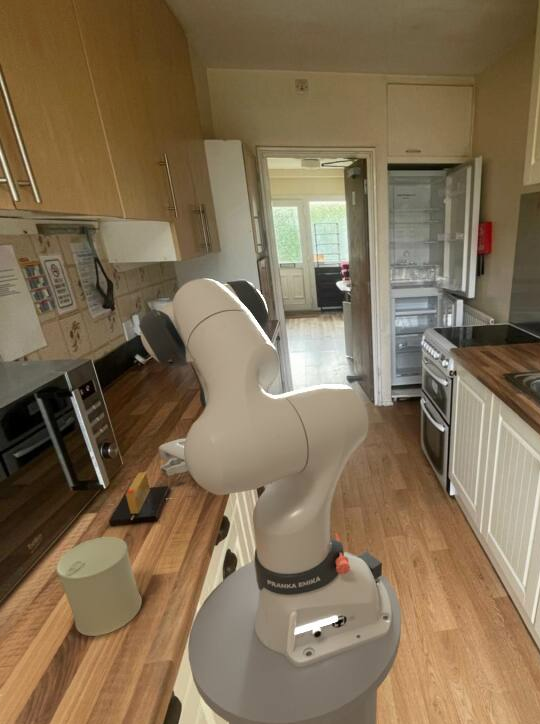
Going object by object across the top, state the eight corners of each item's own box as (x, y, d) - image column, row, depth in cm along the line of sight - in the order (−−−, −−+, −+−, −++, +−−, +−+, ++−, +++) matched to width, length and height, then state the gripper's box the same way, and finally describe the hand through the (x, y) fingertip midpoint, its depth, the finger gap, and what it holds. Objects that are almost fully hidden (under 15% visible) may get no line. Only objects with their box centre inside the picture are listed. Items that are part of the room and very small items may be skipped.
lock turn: (142, 491, 99) (138, 471, 97) (150, 490, 99) (145, 470, 97) (130, 514, 91) (125, 493, 89) (138, 513, 91) (133, 492, 89)
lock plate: (119, 494, 100) (117, 488, 99) (179, 488, 103) (178, 482, 102) (98, 529, 88) (96, 523, 88) (167, 522, 91) (165, 515, 90)
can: (61, 628, 66) (38, 568, 62) (110, 585, 75) (94, 529, 70) (108, 643, 64) (89, 581, 60) (154, 597, 72) (140, 540, 68)
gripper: (186, 428, 114) (136, 448, 104) (238, 448, 105) (188, 472, 94) (190, 449, 117) (141, 470, 106) (241, 470, 107) (192, 496, 96)
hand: (163, 471), depth 100 cm, fingers closed
